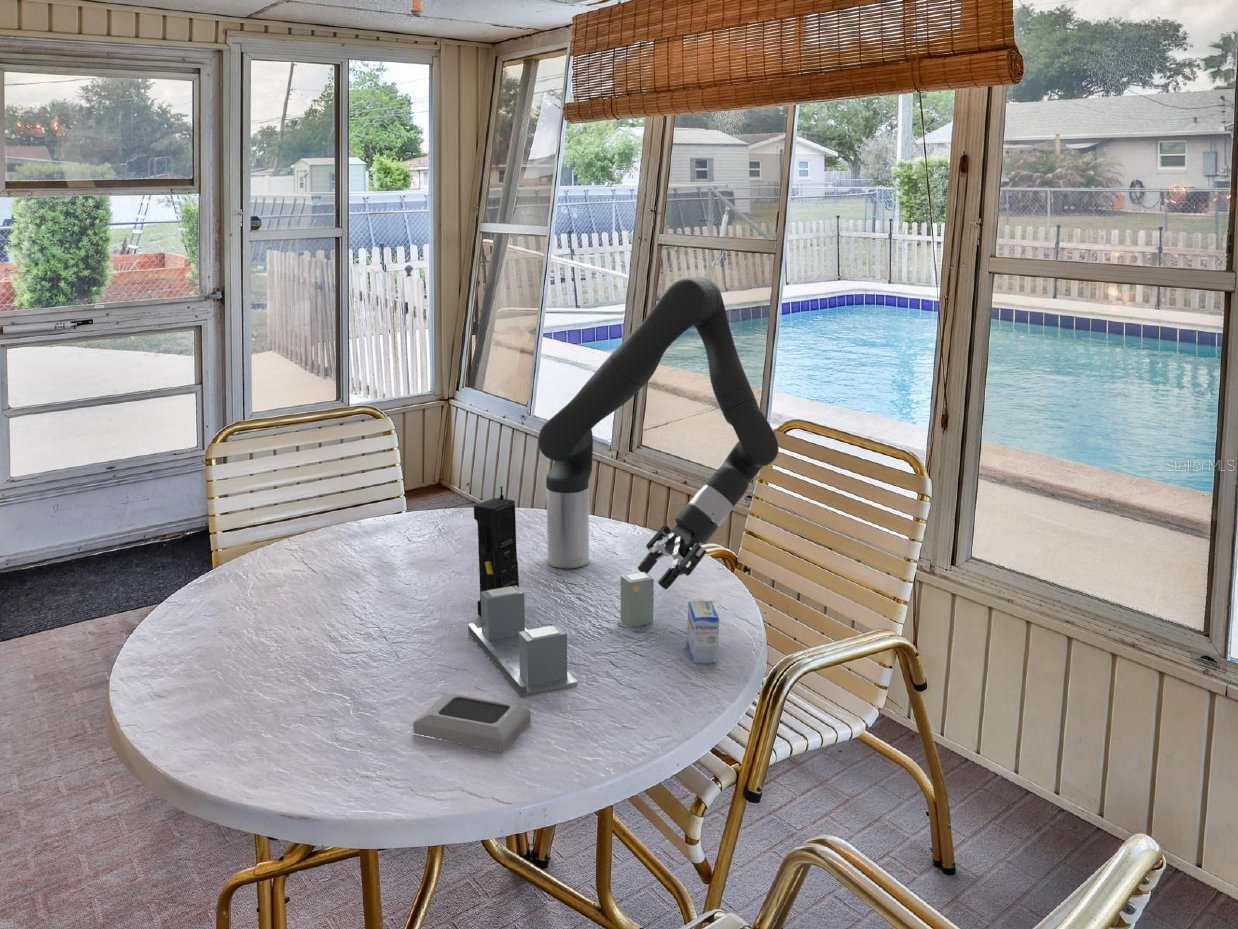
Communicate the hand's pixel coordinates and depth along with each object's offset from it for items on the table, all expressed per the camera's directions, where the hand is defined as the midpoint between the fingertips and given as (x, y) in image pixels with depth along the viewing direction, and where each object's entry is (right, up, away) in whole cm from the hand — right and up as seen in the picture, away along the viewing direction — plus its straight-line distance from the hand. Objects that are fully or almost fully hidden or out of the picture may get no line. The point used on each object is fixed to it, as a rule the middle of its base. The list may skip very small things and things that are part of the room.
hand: (651, 579), depth 197 cm
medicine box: (+9, -12, -13) cm, 20 cm away
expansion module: (-3, -8, +1) cm, 9 cm away
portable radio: (-30, -8, +3) cm, 31 cm away
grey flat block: (-28, -19, -39) cm, 52 cm away
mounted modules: (-24, -12, -15) cm, 31 cm away
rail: (-24, -12, -15) cm, 31 cm away
